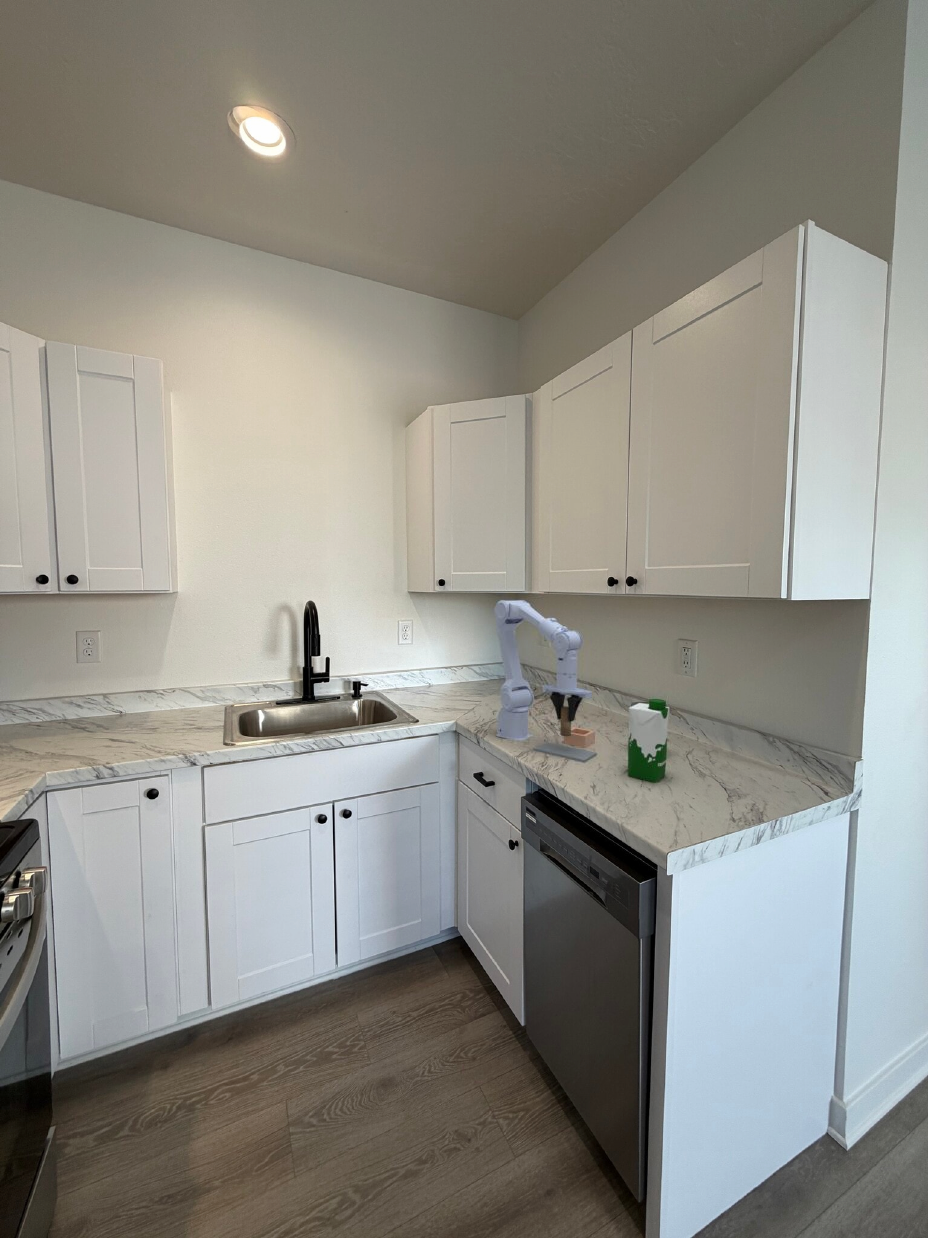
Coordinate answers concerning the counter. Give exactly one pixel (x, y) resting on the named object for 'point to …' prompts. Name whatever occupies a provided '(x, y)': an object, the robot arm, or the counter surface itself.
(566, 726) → the peg
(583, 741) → the square hollow frame
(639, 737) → the milk carton
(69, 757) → the counter surface
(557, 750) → the board
